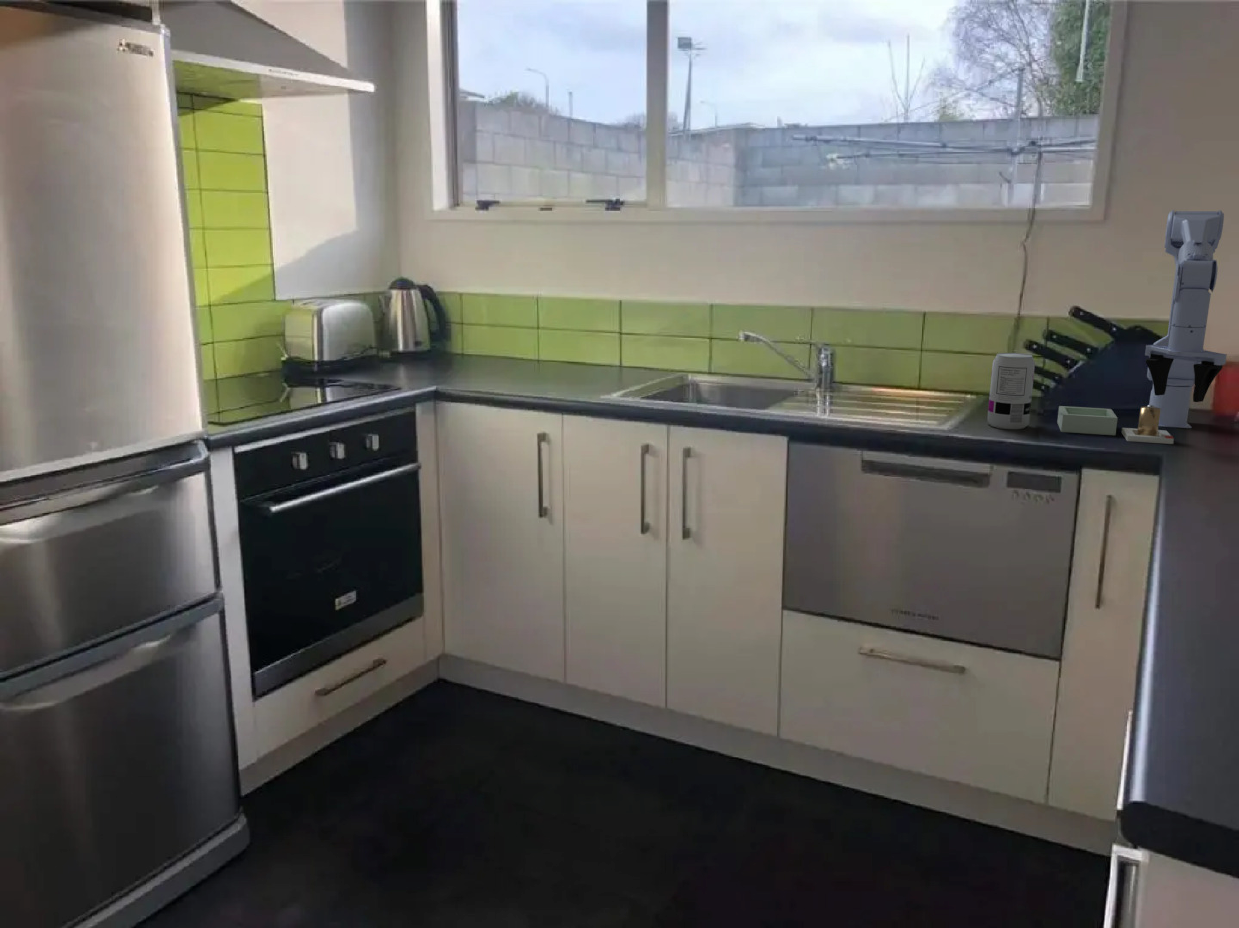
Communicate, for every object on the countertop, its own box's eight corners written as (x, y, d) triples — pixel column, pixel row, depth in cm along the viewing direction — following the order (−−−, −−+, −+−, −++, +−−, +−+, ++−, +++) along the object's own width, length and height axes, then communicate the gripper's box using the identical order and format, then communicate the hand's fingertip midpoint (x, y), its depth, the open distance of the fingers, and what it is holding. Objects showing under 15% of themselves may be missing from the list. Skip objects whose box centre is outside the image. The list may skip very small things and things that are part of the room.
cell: (1135, 435, 201) (1139, 403, 199) (1155, 436, 200) (1159, 404, 198) (1138, 439, 198) (1142, 406, 196) (1158, 440, 197) (1162, 407, 195)
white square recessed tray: (1121, 435, 204) (1122, 426, 203) (1165, 437, 201) (1166, 429, 201) (1126, 443, 196) (1128, 434, 196) (1172, 446, 194) (1174, 437, 193)
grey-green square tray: (1057, 424, 214) (1059, 406, 213) (1108, 427, 211) (1111, 409, 210) (1060, 433, 205) (1063, 414, 204) (1115, 437, 201) (1117, 417, 200)
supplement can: (978, 423, 214) (984, 353, 211) (1008, 420, 217) (1015, 351, 214) (1006, 431, 207) (1013, 358, 203) (1037, 428, 210) (1044, 356, 207)
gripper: (1138, 323, 191) (1129, 393, 195) (1214, 331, 179) (1203, 406, 182) (1162, 321, 195) (1152, 390, 198) (1237, 329, 182) (1226, 402, 186)
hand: (1178, 398), depth 191 cm, fingers open, 7 cm apart
